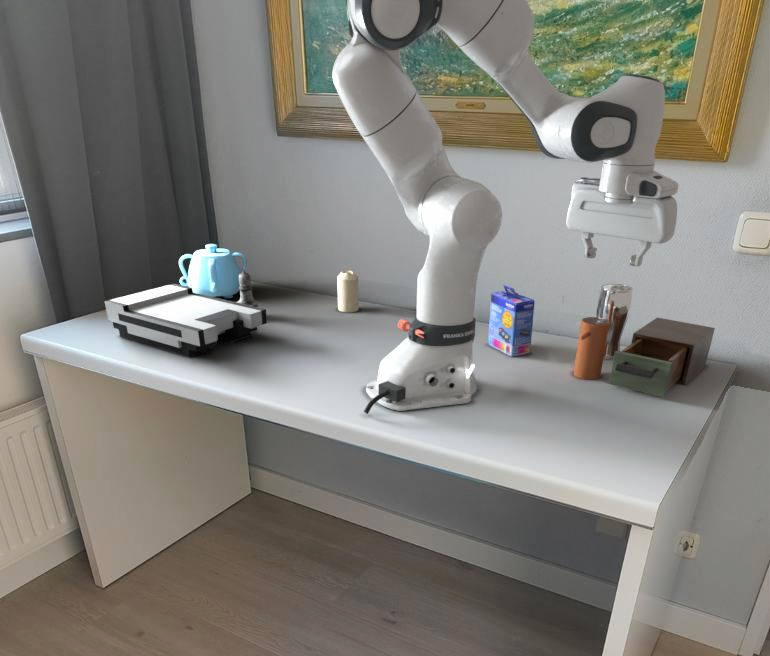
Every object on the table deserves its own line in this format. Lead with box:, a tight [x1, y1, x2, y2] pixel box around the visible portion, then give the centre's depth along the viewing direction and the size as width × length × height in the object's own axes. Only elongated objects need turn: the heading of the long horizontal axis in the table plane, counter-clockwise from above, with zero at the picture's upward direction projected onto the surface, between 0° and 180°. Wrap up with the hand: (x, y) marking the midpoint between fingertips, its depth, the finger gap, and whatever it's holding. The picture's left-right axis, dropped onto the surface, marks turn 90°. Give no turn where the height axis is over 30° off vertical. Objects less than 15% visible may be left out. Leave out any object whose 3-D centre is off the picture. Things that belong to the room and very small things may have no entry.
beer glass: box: [595, 283, 634, 360], centre depth 158 cm, size 7×7×15 cm
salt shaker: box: [235, 269, 259, 308], centre depth 182 cm, size 6×6×12 cm
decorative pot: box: [178, 243, 248, 299], centre depth 200 cm, size 16×16×14 cm
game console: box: [104, 283, 268, 358], centre depth 169 cm, size 21×32×8 cm, turn 54°
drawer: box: [608, 338, 690, 398], centre depth 142 cm, size 18×11×7 cm, turn 143°
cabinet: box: [630, 317, 716, 386], centre depth 152 cm, size 14×12×8 cm
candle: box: [336, 269, 360, 313], centre depth 189 cm, size 6×6×10 cm
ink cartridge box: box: [487, 284, 536, 358], centre depth 161 cm, size 10×6×14 cm, turn 28°
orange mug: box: [573, 316, 610, 381], centre depth 146 cm, size 9×6×12 cm, turn 143°
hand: (612, 261), depth 134 cm, fingers open, 8 cm apart
